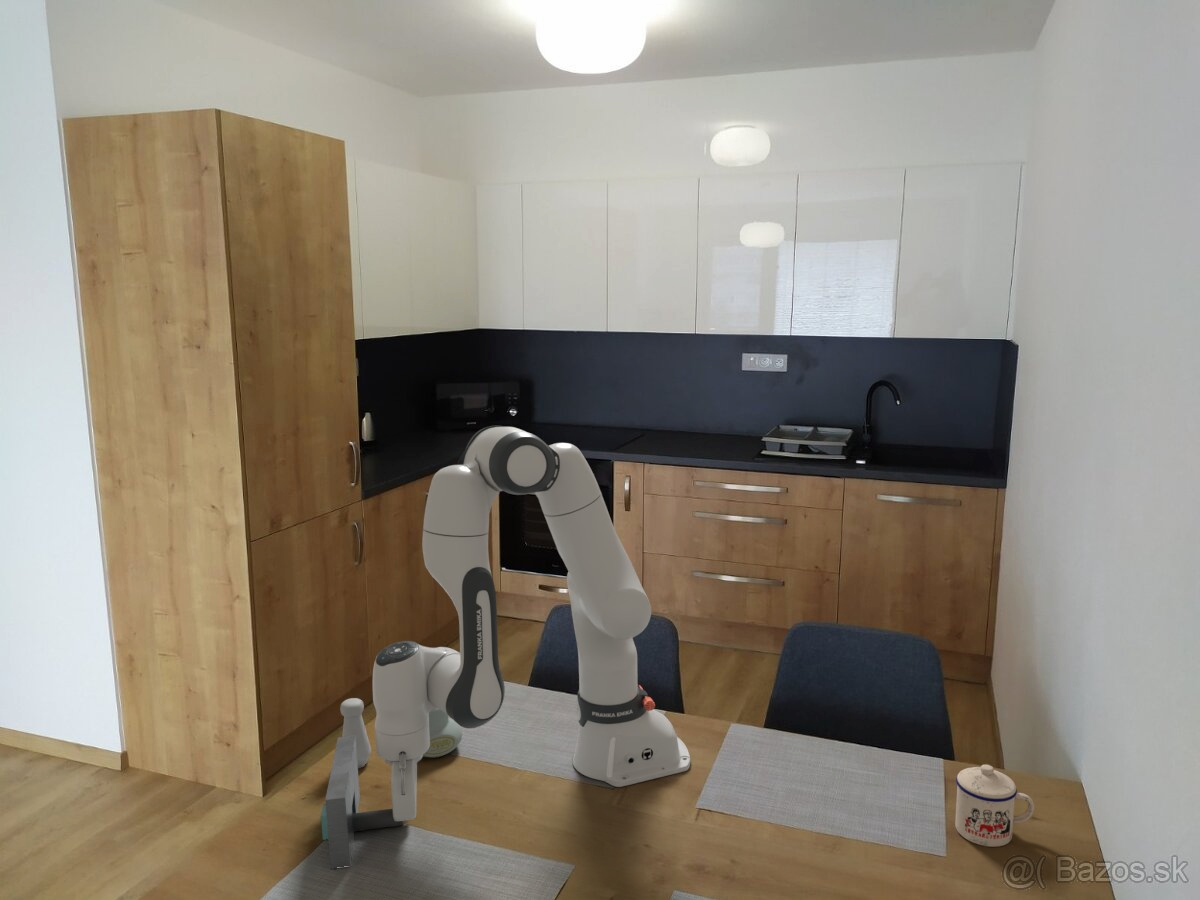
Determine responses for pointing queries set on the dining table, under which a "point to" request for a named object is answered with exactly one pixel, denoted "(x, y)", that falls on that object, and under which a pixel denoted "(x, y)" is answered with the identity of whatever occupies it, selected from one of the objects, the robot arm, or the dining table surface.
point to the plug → (364, 820)
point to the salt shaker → (356, 728)
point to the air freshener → (442, 734)
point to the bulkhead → (342, 801)
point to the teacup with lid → (987, 806)
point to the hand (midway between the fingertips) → (407, 813)
